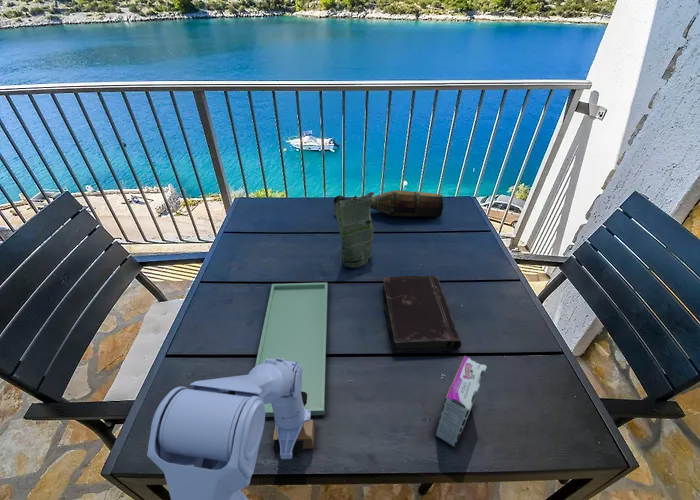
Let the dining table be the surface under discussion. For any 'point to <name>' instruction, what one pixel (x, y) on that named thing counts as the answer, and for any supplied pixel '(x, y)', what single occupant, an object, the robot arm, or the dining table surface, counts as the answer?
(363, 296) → the dining table surface
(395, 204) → the decorative bottle
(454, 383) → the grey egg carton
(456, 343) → the diary
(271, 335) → the tray
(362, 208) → the pouch
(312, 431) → the block
